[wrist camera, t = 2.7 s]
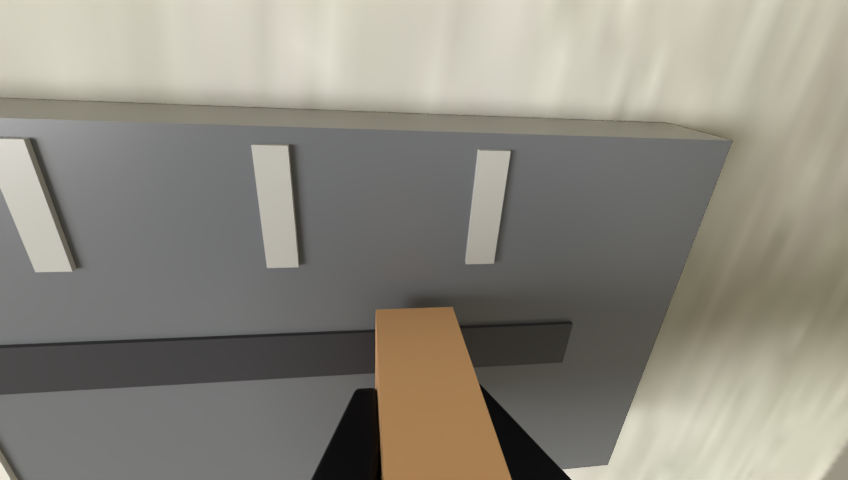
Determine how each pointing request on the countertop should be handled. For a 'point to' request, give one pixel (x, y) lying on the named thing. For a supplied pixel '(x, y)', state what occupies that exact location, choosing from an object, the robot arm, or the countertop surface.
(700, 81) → the countertop surface
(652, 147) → the console
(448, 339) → the fader tab
